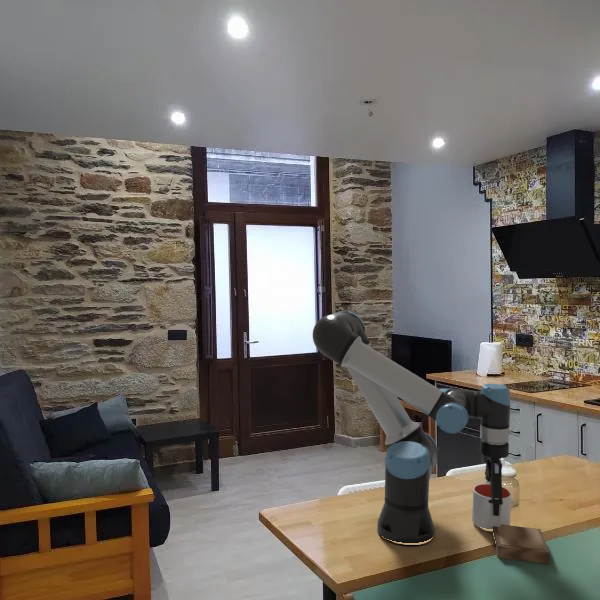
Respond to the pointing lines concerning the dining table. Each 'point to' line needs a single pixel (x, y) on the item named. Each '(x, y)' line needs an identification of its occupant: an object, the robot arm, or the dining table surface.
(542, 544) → the base
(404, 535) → the robot arm
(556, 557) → the dining table surface
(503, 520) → the cup
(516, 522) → the dining table surface
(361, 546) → the dining table surface
